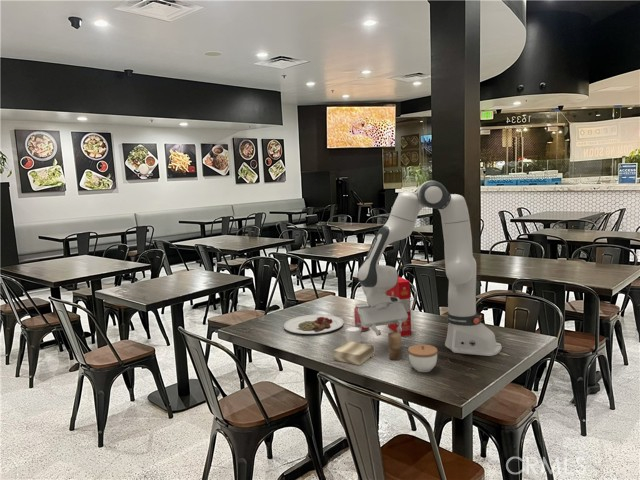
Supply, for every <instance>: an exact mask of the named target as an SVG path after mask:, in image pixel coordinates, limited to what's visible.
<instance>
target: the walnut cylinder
mask: <svg viewBox="0 0 640 480" xmlns="http://www.w3.org/2000/svg"><path fill="white" fill-rule="evenodd" d="M387 335H388V338H387V339H388V358H389V360H390V361H391V360H392V361H400V360H402V358H403V356H402V336H401V333H399V332H394V331H392V332H389V333H388V334H387Z"/></svg>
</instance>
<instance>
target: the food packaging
mask: <svg viewBox="0 0 640 480" xmlns="http://www.w3.org/2000/svg"><path fill="white" fill-rule="evenodd" d="M410 284H411V282H410V280H408V279H405V278H404V277H402V276H399V275H398V282H397V284H396V285H395V286H394V287H393V288H392V289H390V290H388V291H386V295H388V296H392V297H398V298H399V299H400V302H399V303H401V304H402V305H403V306H404V308H405V310H406V312H407V314H408V318H407V320H406V321H405V322H402V325H401V328H402V332H399V333H401V337H407V336H412V318H411V317H412V315H411V313H412V312H411V285H410ZM387 327H388V329H390V330H392V332H397V327H399V325H397V323H394V324H387Z"/></svg>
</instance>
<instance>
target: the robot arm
mask: <svg viewBox="0 0 640 480" xmlns="http://www.w3.org/2000/svg"><path fill="white" fill-rule="evenodd" d="M424 208H428V209H436V210H438V211H439V214H440V217H441V226H442V235H443V242H444V244H443V246H444V248H443V250H444V266H445V275H446V277H447V279H448V291H447V304H448V305H447V308H448V309H447V314H446V315H447V317H446V322H447V333H446V338H445V342H444V346H445V347H446V348H447V349H449V350H450V351H452V353H456V354H465V355H466V354H467V355H477V356H486V357H493V356H496V355H498V354H499V353H500V352H501V351H502V349H503V347H502V344H501V343H499V342H497V340H496V335H495V333H494V332H493V331H492V330H491V329H490V328H488V327H487V326H486V325H485V324H484V323H482V321H481V320H482V314H480V315H479V314H478V313H477V303H476V302H477V301H476V299H477V297H476V296H477V295H476V292H477V290H476V289H477V261H476V259H475V257H474V256H473V255H474V253H473V238H472V237H473V236H472V228H471V221H470V214H469V207H468V205H467V202H466V199H465V197H464V196H463V195H460V194H456V193H454V194H453V193H450V192H449V191H448V190H447V188H446V187H445V186H444V185H443V183H441V182H439V181H436V180H428V181H425V182H423V183H421V185H420V186H419V187H418V188H417V189H416V190H414V191H412V192H411V191H402V192H399V193H398V195H397V197H396V198H395V201H394V203H393V205H392V208H391V211H390V214H389V217H388V219H387V220H386V223H385V224H384V225H383V226H382V227H380V228H379V229H378V231H377V233H376V234H375V237H374V238H373V240H372V243H371V245H370V247H369V250H368V251H367V254H366V256H365V258H364V260H363V261H362V264H361V265H360V266H359V268H358V270H357V274H356V275H357V276H356V277H357V280H358V282H359V283H360V285H361V289H362V291H363V294H364V296H365V298H366V304H367V306H361V307H360V308H358V310H357V311H358V314H359V316H360V320H361V325H362V327H364V328H368V327H369V328H371V330H372V331H373V332H375V334H376V336H377V337H378V336H381V335H382V332H381V330H380V329H378V328H377V327H380V326H386V325H387V326H388V324H394V323H397V325H399V327H397V332H402V328H401V325H402V322H405V321H406V320H407V318H408V314H407V312H406V310H405V308H404V306H403V305H402V304H401V303H399V302H400V299H399V298H398V297H392V296H388V295H387V291H388V290H390V289H392V288H393V287H394V286H395V285H396V284H397V282H398V276H399V273H398V270H397V269H396V268H395V267H394V266H390V265H384V264H379V263H380V261H381V258H382V256H383V254H384V251H385V249H386V248H387V247H388V246H390V244H392V243H394V242H397V241H398V242H399V241H400V240H401V241H402V240H404V239H407V238H408V237H410V236H411V235H412V232H413V231H414V229H415V226H416V223H417V219H418V216H419V214H420V212H421V210H422V209H424Z"/></svg>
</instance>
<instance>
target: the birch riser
mask: <svg viewBox="0 0 640 480" xmlns="http://www.w3.org/2000/svg"><path fill="white" fill-rule="evenodd" d="M373 355H374V356H375V345H372V344H367V343H361V342H360V343H357V342H351V341H348V342H347V341H346V342H345V343H344V344H342V345H340V346H339V347H337V348H335V349H333V360H334V361H337V362H343V363H348V364H351V365H352V364H353V365H357V366H362V364H364V363H365V362H366V360H367V359H368V360H369V359H371V358H373ZM370 357H371V358H370ZM368 360H367V361H368ZM363 362H364V363H363Z"/></svg>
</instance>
